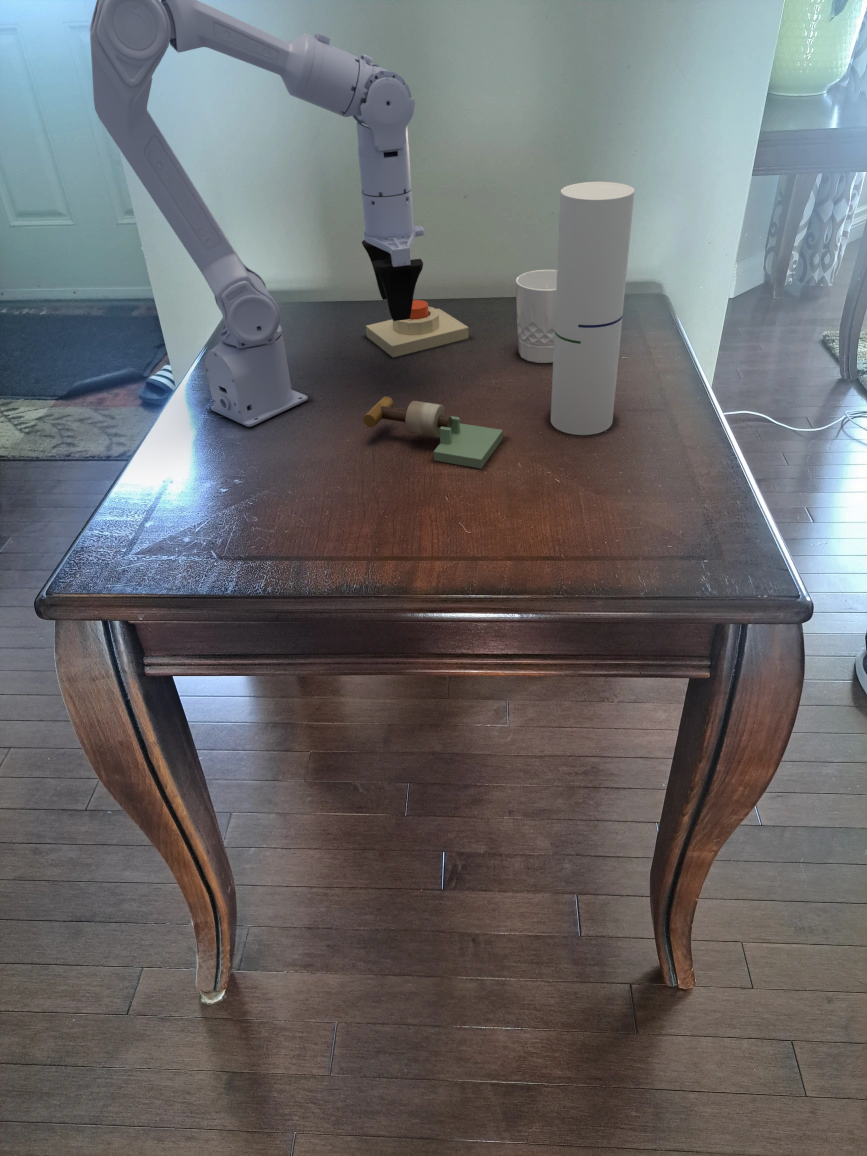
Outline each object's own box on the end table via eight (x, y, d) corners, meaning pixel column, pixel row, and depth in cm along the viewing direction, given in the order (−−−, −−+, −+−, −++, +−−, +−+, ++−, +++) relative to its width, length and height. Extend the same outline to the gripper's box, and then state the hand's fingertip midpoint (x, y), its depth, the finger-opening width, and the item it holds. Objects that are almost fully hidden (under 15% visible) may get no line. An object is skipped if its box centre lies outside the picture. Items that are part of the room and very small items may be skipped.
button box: (393, 357, 114) (391, 333, 112) (366, 336, 120) (364, 313, 118) (469, 338, 118) (468, 314, 116) (439, 319, 124) (438, 296, 122)
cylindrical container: (611, 436, 93) (633, 199, 78) (547, 433, 95) (557, 199, 79) (613, 408, 99) (634, 181, 83) (553, 405, 100) (563, 181, 85)
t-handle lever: (364, 434, 94) (361, 405, 92) (382, 415, 98) (380, 387, 95) (442, 447, 91) (440, 417, 89) (458, 427, 94) (457, 398, 92)
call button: (410, 323, 115) (409, 311, 114) (398, 315, 118) (398, 303, 117) (433, 317, 116) (432, 305, 115) (421, 310, 119) (420, 298, 118)
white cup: (572, 342, 115) (576, 268, 109) (574, 365, 109) (578, 289, 103) (515, 342, 116) (516, 269, 110) (513, 365, 110) (514, 290, 104)
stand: (433, 460, 91) (432, 436, 89) (457, 431, 96) (456, 408, 94) (481, 469, 89) (481, 444, 87) (503, 439, 94) (503, 415, 92)
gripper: (434, 202, 89) (439, 325, 98) (409, 173, 101) (415, 286, 109) (370, 209, 88) (380, 332, 97) (351, 179, 100) (362, 292, 108)
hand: (395, 308), depth 103 cm, fingers open, 7 cm apart
